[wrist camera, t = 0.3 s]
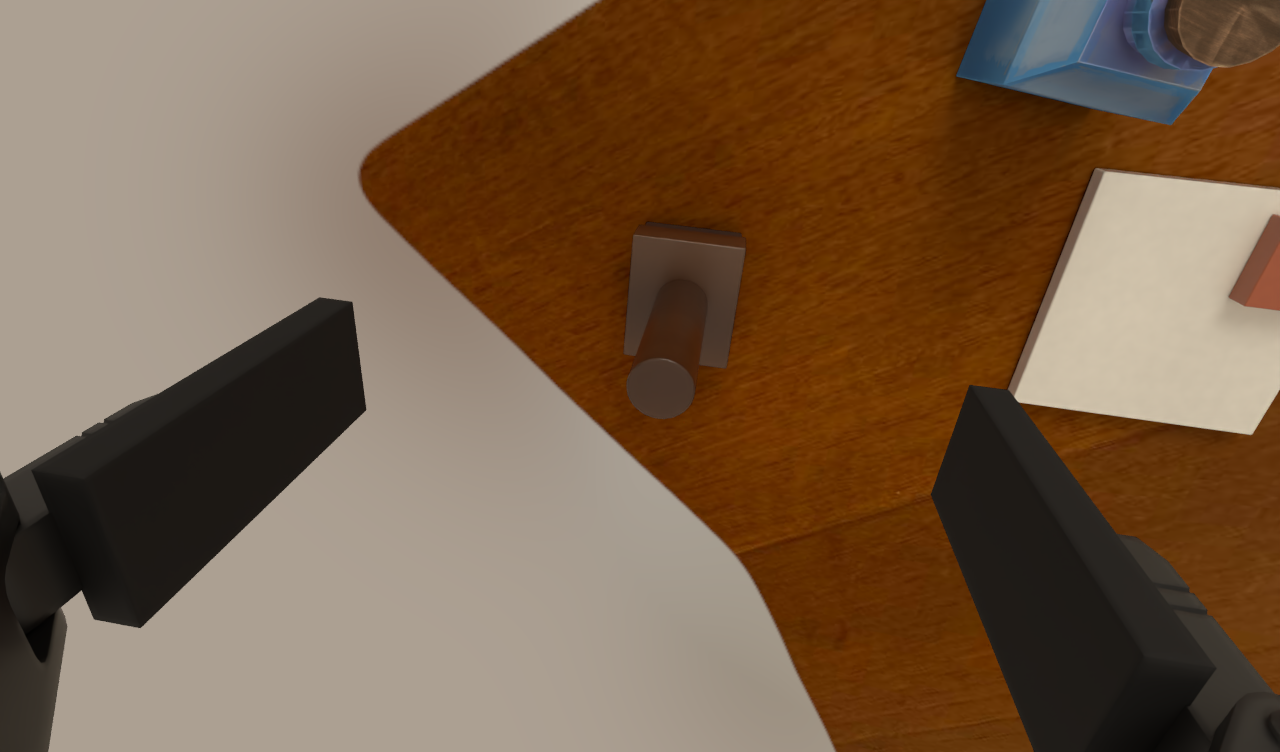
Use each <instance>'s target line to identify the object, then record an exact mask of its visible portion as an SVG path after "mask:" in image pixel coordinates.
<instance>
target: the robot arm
mask: <svg viewBox="0 0 1280 752" xmlns="http://www.w3.org/2000/svg"><path fill="white" fill-rule="evenodd" d="M365 411H366V405H365V396H364V389H363V381H362V373H361V365H360V357H359V350H358V342H357V334H356V326H355V319H354V311H353V303H352V302H349V301H342V300H334V299H326V298H318V299H316V300H314V301H313V302H311V303H309V304H308V305H306V306H304V307H303V308H301V309H300V310H298V311H296V312H294V313H293V314H291V315H289V316H288V317H286V318H284V319H283V320H281V321H279V322H278V323H276V324H274V325H273V326H271V327H269V328H268V329H266V330H264V331H263V332H261V333H259V334H258V335H256V336H254V337H253V338H251V339H249V340H248V341H246V342H244V343H243V344H241V345H239V346H238V347H236V348H234V349H233V350H231V351H229V352H228V353H226V354H224V355H223V356H221V357H219V358H218V359H216V360H214V361H213V362H211V363H209V364H208V365H206V366H204V367H203V368H201V369H199V370H197V371H196V372H194V373H192V374H191V375H189V376H188V377H186V378H184V379H182V380H181V381H179V382H178V383H176V384H174V385H173V386H171V387H169V388H167V389H166V390H164V391H163V392H161V393H159V394H157V395H154V396H151V397H148V398H146V399H143V400H140V401H137V402H134V403H132V404H130V405H128V406H126V407H125V408H123V409H121V410H120V411H118V412H116V413H114V414H113V415H111V416H109V417H108V418H106V419H104V423H97V424H96V425H94V426H92V427H91V428H89V429H87V430H85V431H84V432H82V436H75V437H74V438H72V439H70V440H68V441H67V442H65V443H63V444H62V445H60V446H58V447H56V448H55V449H53V450H51V451H50V452H48V453H46V454H45V455H43V456H41V457H39V458H38V459H36V460H34V461H33V462H31V463H29V464H28V465H26V466H24V467H22V468H21V469H19V470H17V471H16V472H14V473H12V474H11V475H9V476H7V477H5V478H4V479H3V477H2V475H1V473H0V752H48V749H49V742H50V736H51V730H52V729H51V728H52V723H53V716H54V710H55V703H56V697H57V690H58V683H59V677H60V670H61V664H62V657H63V650H64V644H65V637H66V631H67V624H66V619H65V615H64V613H63V611H62V609H61V607H62V606H63V605H64V604H65V603H67V602H68V601H69V600H70V599H71V598H73V597H74V596H75V595H76V594H78V593H79V592H80V591H81V590H82V592H83V594H84V597H85V599H86V601H87V604H88V606H89V609H90V611H91V613H92V616H93V618H94V619H95V620H100V621H106V622H111V623H116V624H121V625H127V626H133V627H138V628H141V627H142V626H143V625H144V624H145V623H146V622H147V621H148V620H149V619H150V618H152V617H153V615H154V614H156V612H158V611H159V610H160V609H161V608H162V607H163V606H164V605H165V604H166V603H167V602H168V601H169V600H170V599H171V598H172V597H173V596H174V595H175V594H176V593H177V592H178V591H179V590H180V589H181V588H182V587H183V586H185V585H186V584H187V583H188V582H189V581H190V580H191V579H192V578H193V577H194V576H195V575H196V574H197V573H198V572H199V571H200V570H201V569H202V568H203V567H204V566H205V565H206V564H207V563H208V562H209V561H210V560H211V559H213V558H214V557H215V556H216V555H217V554H218V553H219V552H220V551H221V550H222V549H223V548H224V547H225V546H226V545H227V544H228V543H229V542H230V541H231V540H232V539H233V538H234V537H235V536H236V535H237V534H238V533H239V532H241V530H243V529H244V528H245V526H247V525H248V524H249V523H250V522H251V521H252V520H253V519H254V518H255V517H256V516H257V515H258V514H259V513H260V512H261V511H262V510H263V509H264V508H265V507H266V506H267V505H268V504H269V503H271V502H272V500H274V499H275V498H276V497H277V496H278V495H279V494H280V493H281V492H282V491H283V490H284V489H285V488H286V487H287V486H288V485H289V484H290V483H291V482H292V481H293V480H294V479H295V478H296V477H297V476H298V475H299V474H301V472H303V471H304V470H305V469H306V468H307V467H308V466H309V465H310V464H311V463H312V462H313V461H314V460H315V459H316V458H317V457H318V456H319V455H320V454H321V453H322V452H323V451H324V450H325V449H326V448H327V447H328V446H329V445H331V444H332V442H334V441H335V440H336V439H337V438H338V437H339V436H340V435H341V434H342V433H343V432H344V431H345V430H346V429H347V428H348V427H349V426H350V425H351V424H352V423H353V422H354V421H355V420H356V419H357V418H358V417H360V415H362V414H363V413H364V412H365ZM931 496H932V499H933V501H934V504H935V506H936V509H937V511H938V514H939V516H940V519H941V521H942V524H943V526H944V529H945V531H946V534H947V536H948V539H949V541H950V544H951V546H952V548H953V551H954V553H955V556H956V558H957V561H958V563H959V566H960V568H961V571H962V573H963V576H964V578H965V581H966V583H967V586H968V588H969V591H970V593H971V596H972V598H973V601H974V603H975V606H976V608H977V611H978V613H979V616H980V618H981V621H982V623H983V626H984V628H985V631H986V633H987V635H988V638H989V640H990V643H991V645H992V648H993V650H994V653H995V655H996V658H997V660H998V663H999V665H1000V668H1001V670H1002V673H1003V675H1004V678H1005V680H1006V683H1007V685H1008V688H1009V690H1010V693H1011V695H1012V698H1013V700H1014V703H1015V705H1016V708H1017V710H1018V713H1019V715H1020V718H1021V720H1022V722H1023V725H1024V727H1025V730H1026V732H1027V735H1028V737H1029V740H1030V742H1031V745H1032V747H1033V750H1034V752H1280V695H1277V694H1274V692H1273V691H1272V690H1271V689H1270V687H1269V686H1268V685H1267V684H1266V682H1265V681H1264V680H1263V679H1262V677H1261V676H1260V675H1259V674H1258V672H1257V671H1256V670H1255V669H1254V668H1253V666H1252V665H1251V664H1250V663H1249V661H1248V660H1247V659H1246V658H1245V656H1244V655H1243V654H1242V653H1241V651H1240V650H1239V649H1238V648H1237V646H1236V645H1235V644H1234V643H1233V641H1232V640H1231V639H1230V638H1229V637H1228V635H1227V634H1226V633H1225V632H1224V630H1223V629H1222V628H1221V627H1220V625H1219V624H1218V623H1217V622H1216V620H1215V619H1214V618H1213V617H1212V616H1209V615H1207V609H1206V608H1205V607H1204V605H1203V604H1202V603H1201V602H1200V601H1199V599H1198V598H1197V597H1196V596H1195V594H1194V593H1190V592H1189V587H1188V586H1187V584H1186V583H1185V582H1184V581H1183V579H1182V578H1181V577H1180V576H1179V574H1178V573H1177V572H1176V571H1175V570H1174V568H1173V567H1172V566H1171V565H1170V563H1169V562H1168V561H1167V560H1165V559H1164V558H1163V557H1161V556H1160V555H1159V554H1158V553H1156V552H1155V551H1154V550H1152V549H1151V548H1150V547H1149V546H1147V545H1146V544H1145V543H1143V542H1142V541H1141V540H1139V539H1138V538H1137V537H1133V536H1126V535H1120V534H1116V533H1115V531H1114V530H1113V529H1112V527H1111V526H1110V525H1109V523H1108V522H1107V521H1106V519H1105V518H1104V517H1103V515H1102V514H1101V513H1100V511H1099V510H1098V509H1097V507H1096V506H1095V505H1094V503H1093V502H1092V500H1091V499H1090V498H1089V496H1088V495H1087V494H1086V492H1085V491H1084V490H1083V488H1082V487H1081V486H1080V484H1079V483H1078V482H1077V480H1076V479H1075V478H1074V476H1073V475H1072V474H1071V472H1070V471H1069V470H1068V468H1067V467H1066V466H1065V464H1064V463H1063V462H1062V460H1061V459H1060V458H1059V456H1058V455H1057V454H1056V452H1055V451H1054V450H1053V448H1052V447H1051V446H1050V444H1049V443H1048V442H1047V440H1046V439H1045V438H1044V436H1043V435H1042V434H1041V432H1040V431H1039V430H1038V428H1037V427H1036V426H1035V424H1034V423H1033V421H1032V420H1031V419H1030V417H1029V416H1028V415H1027V413H1026V412H1025V411H1024V409H1023V408H1022V407H1021V405H1020V404H1019V403H1018V401H1017V400H1016V399H1015V397H1014V396H1013V395H1012V393H1011V392H1010V391H1009V390H1003V389H996V388H988V387H981V386H973V385H970V386H969V388H968V391H967V394H966V397H965V400H964V403H963V405H962V408H961V411H960V414H959V417H958V420H957V422H956V425H955V428H954V431H953V434H952V437H951V439H950V442H949V445H948V448H947V451H946V453H945V456H944V459H943V462H942V465H941V468H940V470H939V473H938V476H937V479H936V482H935V485H934V487H933V490H932V493H931Z"/></svg>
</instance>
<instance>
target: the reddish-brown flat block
mask: <svg viewBox="0 0 1280 752" xmlns="http://www.w3.org/2000/svg"><path fill="white" fill-rule="evenodd" d="M1229 298H1230V299H1232V300H1234V301H1235V302H1237V303H1239V304H1241V305H1243V306H1245V307H1253V308H1261V309H1269V310H1277V311H1280V215H1278V214H1273V215H1272V216H1271V218H1270V220H1269V222H1268V224H1267V225H1266V227H1265V229H1264V231H1263V233H1262V235H1261V237H1260V239H1259V240H1258V242H1257V244H1256V246H1255V248H1254V250H1253V252H1252V254H1251V256H1250V257H1249V259H1248V261H1247V263H1246V265H1245V267H1244V269H1243V271H1242V272H1241V274H1240V276H1239V278H1238V280H1237V282H1236V284H1235V286H1234V287H1233V289H1232V291H1231V293H1230V295H1229Z"/></svg>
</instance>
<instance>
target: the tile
mask: <svg viewBox="0 0 1280 752" xmlns="http://www.w3.org/2000/svg"><path fill="white" fill-rule="evenodd" d="M1273 214H1278V215H1280V188H1276V187H1267V186H1258V185H1249V184H1239V183H1230V182H1221V181H1212V180H1203V179H1193V178H1184V177H1175V176H1166V175H1157V174H1147V173H1138V172H1129V171H1120V170H1111V169H1101V168H1096V169H1095V170H1094V172H1093V175H1092V177H1091V180H1090V182H1089V185H1088V187H1087V190H1086V193H1085V195H1084V198H1083V200H1082V203H1081V205H1080V208H1079V210H1078V213H1077V215H1076V218H1075V220H1074V223H1073V225H1072V228H1071V231H1070V233H1069V236H1068V238H1067V241H1066V243H1065V246H1064V248H1063V251H1062V253H1061V256H1060V258H1059V261H1058V263H1057V266H1056V269H1055V271H1054V274H1053V276H1052V279H1051V281H1050V284H1049V286H1048V289H1047V291H1046V294H1045V296H1044V299H1043V302H1042V304H1041V307H1040V309H1039V312H1038V314H1037V317H1036V319H1035V322H1034V324H1033V327H1032V329H1031V332H1030V334H1029V337H1028V340H1027V342H1026V345H1025V347H1024V350H1023V352H1022V355H1021V357H1020V360H1019V362H1018V365H1017V367H1016V370H1015V373H1014V375H1013V378H1012V380H1011V383H1010V385H1009V388H1008V390H1009V391H1010V392H1011V393H1012V395H1013V396H1014V397H1015V399H1016V400H1017V401H1018V402H1019V403H1026V404H1033V405H1040V406H1048V407H1055V408H1062V409H1069V410H1076V411H1083V412H1090V413H1098V414H1105V415H1112V416H1119V417H1126V418H1133V419H1140V420H1148V421H1155V422H1162V423H1169V424H1176V425H1183V426H1190V427H1198V428H1205V429H1212V430H1219V431H1226V432H1233V433H1241V434H1248V435H1252V434H1253V432H1254V431H1255V429H1256V427H1257V426H1258V424H1259V422H1260V421H1261V419H1262V418H1263V416H1264V414H1265V413H1266V411H1267V409H1268V408H1269V406H1270V405H1271V403H1272V401H1273V400H1274V398H1275V396H1276V395H1277V393H1278V391H1279V390H1280V311H1277V310H1269V309H1261V308H1253V307H1245V306H1243V305H1241V304H1239V303H1237V302H1235V301H1234V300H1232V299H1230V298H1229V295H1230V293H1231V291H1232V289H1233V287H1234V286H1235V284H1236V282H1237V280H1238V278H1239V276H1240V274H1241V272H1242V271H1243V269H1244V267H1245V265H1246V263H1247V261H1248V259H1249V257H1250V256H1251V254H1252V252H1253V250H1254V248H1255V246H1256V244H1257V242H1258V240H1259V239H1260V237H1261V235H1262V233H1263V231H1264V229H1265V227H1266V225H1267V224H1268V222H1269V220H1270V218H1271V216H1272V215H1273Z"/></svg>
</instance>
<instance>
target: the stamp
mask: <svg viewBox="0 0 1280 752" xmlns="http://www.w3.org/2000/svg"><path fill="white" fill-rule="evenodd" d="M745 253H746V238H745V237H742V235H741V233H736V232H728V231H720V230H711V229H703V228H695V227H687V226H679V225H671V224H662V223H654V222H647V223H646V225H639V226H638V228H637V229H636V231H635V233H634V235H633V242H632V254H631V267H630V279H629V291H628V303H627V316H626V328H625V340H624V354H626V355H633V356H635V359H634V362H633V364H632V367H631V370H630V373H629V376H628V379H627V393H628V396H629V399H630V400H631V402H632V404H633V405H634V406H635V407H636V408H637V409H638V410H639V411H640V412H642V413H643V414H645V415H647V416H650V417H653V418H659V419H666V418H672V417H675V416H678V415H679V414H681V413H683V412H684V411H685V410H686V409H687V408H688V407H689V406H690V405H691V403H692V401H693V399H694V395H695V389H696V382H697V375H698V369H699V365H704V366H711V367H718V368H727V362H728V356H729V350H730V344H731V338H732V332H733V326H734V320H735V313H736V307H737V301H738V295H739V289H740V283H741V277H742V271H743V265H744V259H745Z"/></svg>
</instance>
